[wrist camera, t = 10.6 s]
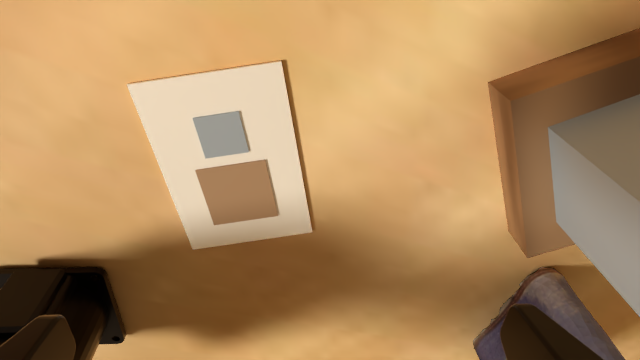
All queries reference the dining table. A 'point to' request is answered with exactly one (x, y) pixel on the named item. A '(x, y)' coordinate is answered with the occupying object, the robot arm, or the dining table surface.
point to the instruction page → (227, 152)
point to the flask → (559, 305)
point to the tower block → (602, 190)
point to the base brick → (544, 111)
